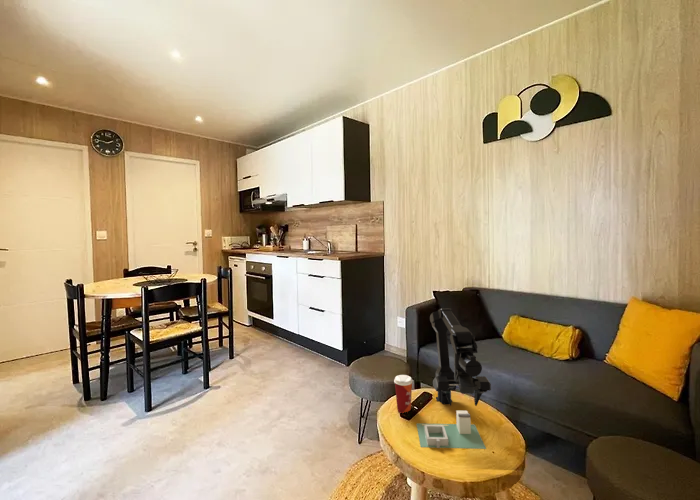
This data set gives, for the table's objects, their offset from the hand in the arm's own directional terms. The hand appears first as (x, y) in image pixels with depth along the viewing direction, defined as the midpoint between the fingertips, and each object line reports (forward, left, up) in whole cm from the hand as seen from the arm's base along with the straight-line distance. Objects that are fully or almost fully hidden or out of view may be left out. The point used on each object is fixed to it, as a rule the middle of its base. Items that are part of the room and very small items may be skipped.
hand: (462, 405), depth 123 cm
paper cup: (-14, -21, -11) cm, 27 cm away
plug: (0, 0, -9) cm, 9 cm away
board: (+4, -6, -10) cm, 12 cm away
